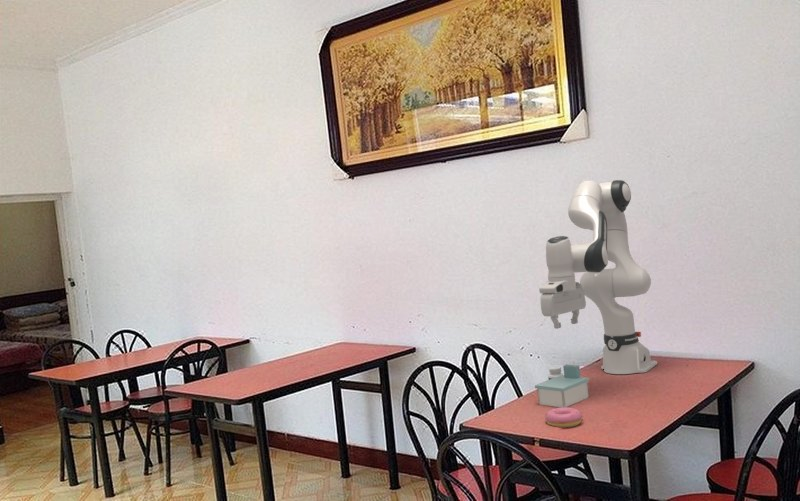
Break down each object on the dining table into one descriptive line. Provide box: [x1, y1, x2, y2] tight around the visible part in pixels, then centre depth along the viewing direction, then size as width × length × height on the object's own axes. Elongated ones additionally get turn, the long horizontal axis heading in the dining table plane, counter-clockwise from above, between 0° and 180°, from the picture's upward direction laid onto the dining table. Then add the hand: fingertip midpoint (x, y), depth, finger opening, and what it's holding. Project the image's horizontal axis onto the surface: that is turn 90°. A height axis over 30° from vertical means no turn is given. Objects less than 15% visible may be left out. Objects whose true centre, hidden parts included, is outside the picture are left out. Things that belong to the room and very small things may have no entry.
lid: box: [534, 364, 590, 392], centre depth 234 cm, size 15×11×5 cm
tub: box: [536, 382, 590, 408], centre depth 234 cm, size 14×10×6 cm
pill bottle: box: [547, 366, 564, 380], centre depth 247 cm, size 5×5×9 cm
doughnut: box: [544, 406, 583, 429], centre depth 212 cm, size 11×11×4 cm
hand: (566, 325), depth 238 cm, fingers open, 8 cm apart
